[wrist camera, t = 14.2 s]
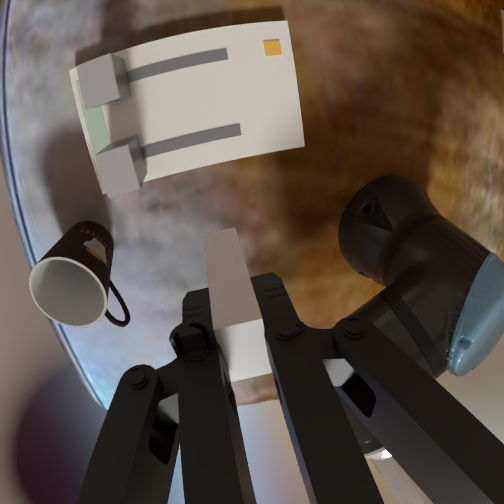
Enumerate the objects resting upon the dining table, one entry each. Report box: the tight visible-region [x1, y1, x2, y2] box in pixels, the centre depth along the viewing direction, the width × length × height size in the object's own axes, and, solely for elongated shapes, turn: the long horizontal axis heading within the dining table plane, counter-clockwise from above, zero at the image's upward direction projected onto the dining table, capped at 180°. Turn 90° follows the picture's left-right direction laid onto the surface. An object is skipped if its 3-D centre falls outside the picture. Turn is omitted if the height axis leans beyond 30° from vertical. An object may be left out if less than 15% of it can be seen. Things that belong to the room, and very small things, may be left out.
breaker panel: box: [69, 21, 305, 194], centre depth 27 cm, size 22×14×2 cm, turn 99°
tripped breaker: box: [76, 53, 131, 110], centre depth 21 cm, size 3×4×5 cm
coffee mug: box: [29, 221, 130, 328], centre depth 30 cm, size 12×9×10 cm
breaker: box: [95, 135, 147, 199], centre depth 25 cm, size 3×4×5 cm
